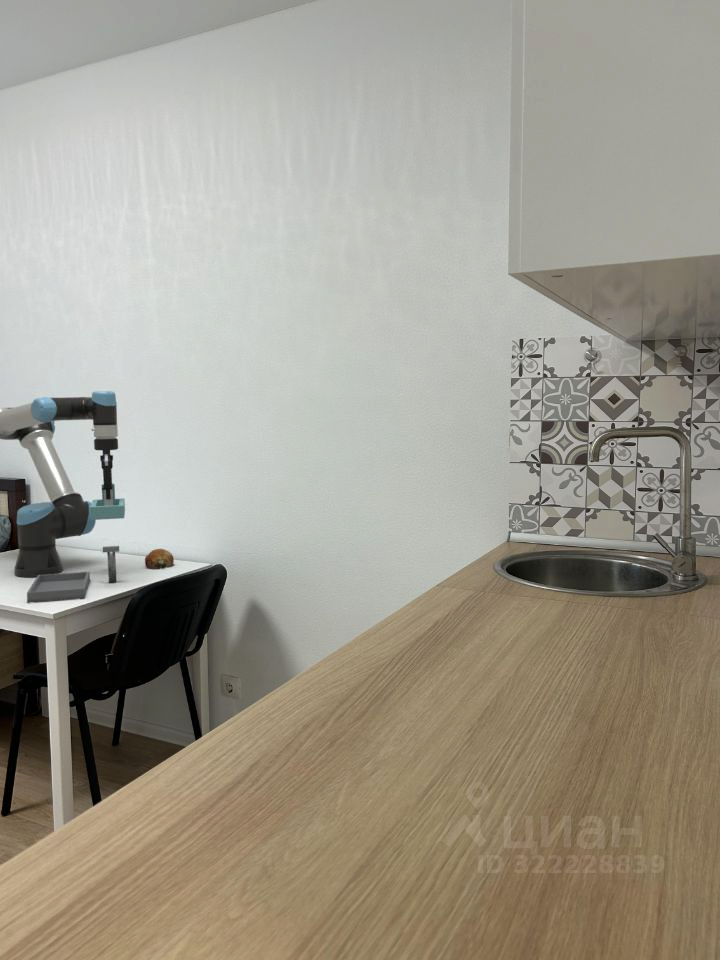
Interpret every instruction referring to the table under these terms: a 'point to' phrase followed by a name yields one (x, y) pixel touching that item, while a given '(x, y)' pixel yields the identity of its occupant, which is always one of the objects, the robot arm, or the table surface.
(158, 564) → the bread roll
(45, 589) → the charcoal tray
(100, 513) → the teal boxy piece
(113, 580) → the t stake
